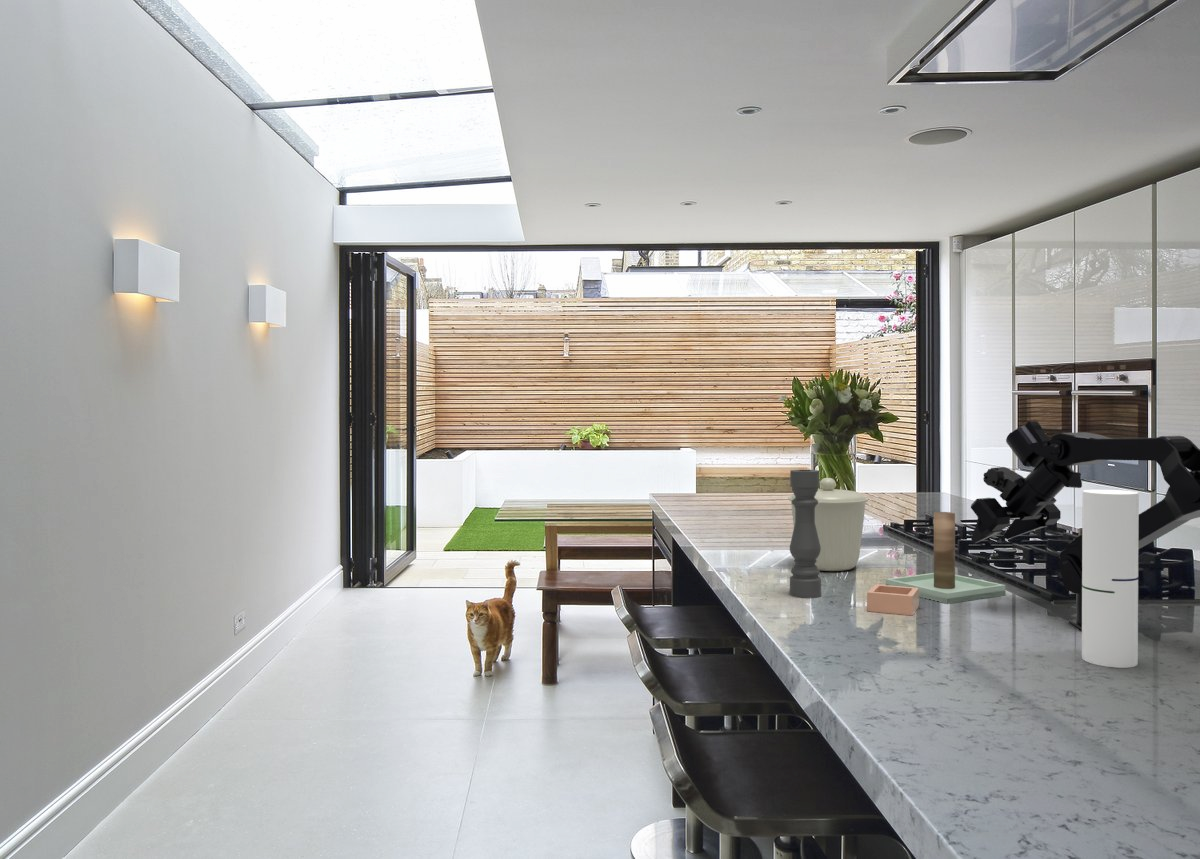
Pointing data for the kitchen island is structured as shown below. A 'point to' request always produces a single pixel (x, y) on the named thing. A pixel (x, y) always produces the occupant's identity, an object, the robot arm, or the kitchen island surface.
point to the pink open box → (893, 599)
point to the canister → (837, 526)
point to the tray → (961, 592)
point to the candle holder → (805, 535)
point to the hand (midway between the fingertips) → (989, 539)
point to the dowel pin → (944, 550)
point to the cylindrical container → (1110, 577)
